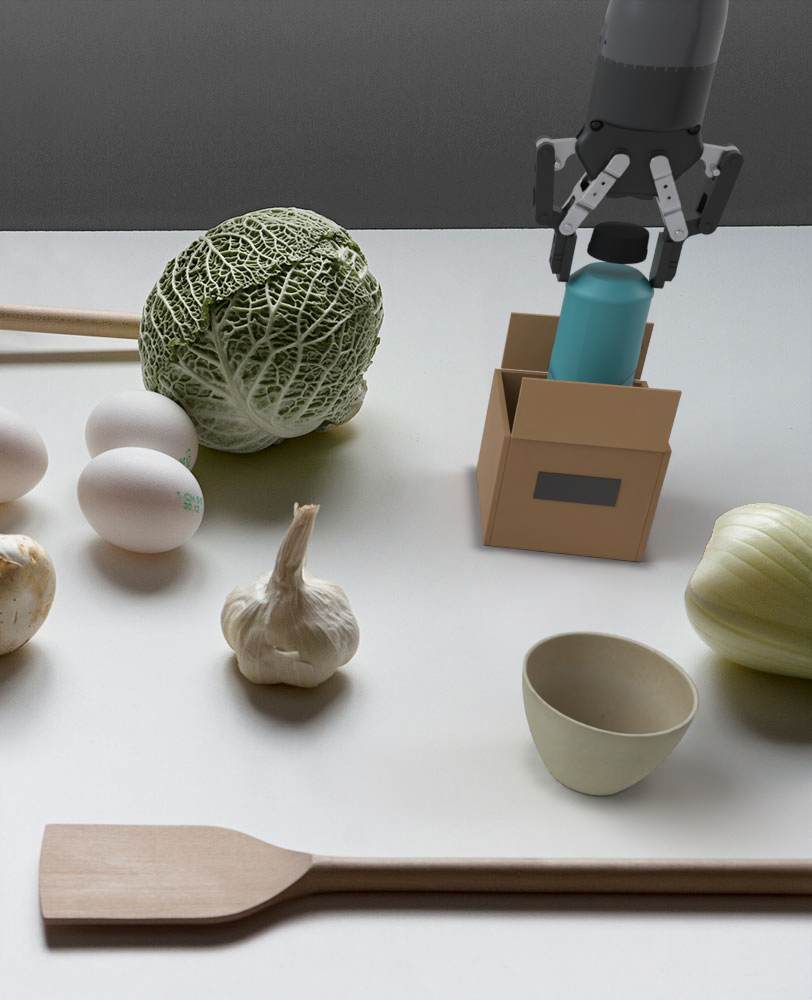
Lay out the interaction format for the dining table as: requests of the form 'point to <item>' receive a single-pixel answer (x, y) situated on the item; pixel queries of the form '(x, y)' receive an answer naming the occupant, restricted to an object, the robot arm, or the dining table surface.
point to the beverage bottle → (604, 310)
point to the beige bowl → (604, 708)
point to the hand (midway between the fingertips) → (608, 280)
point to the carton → (570, 453)
